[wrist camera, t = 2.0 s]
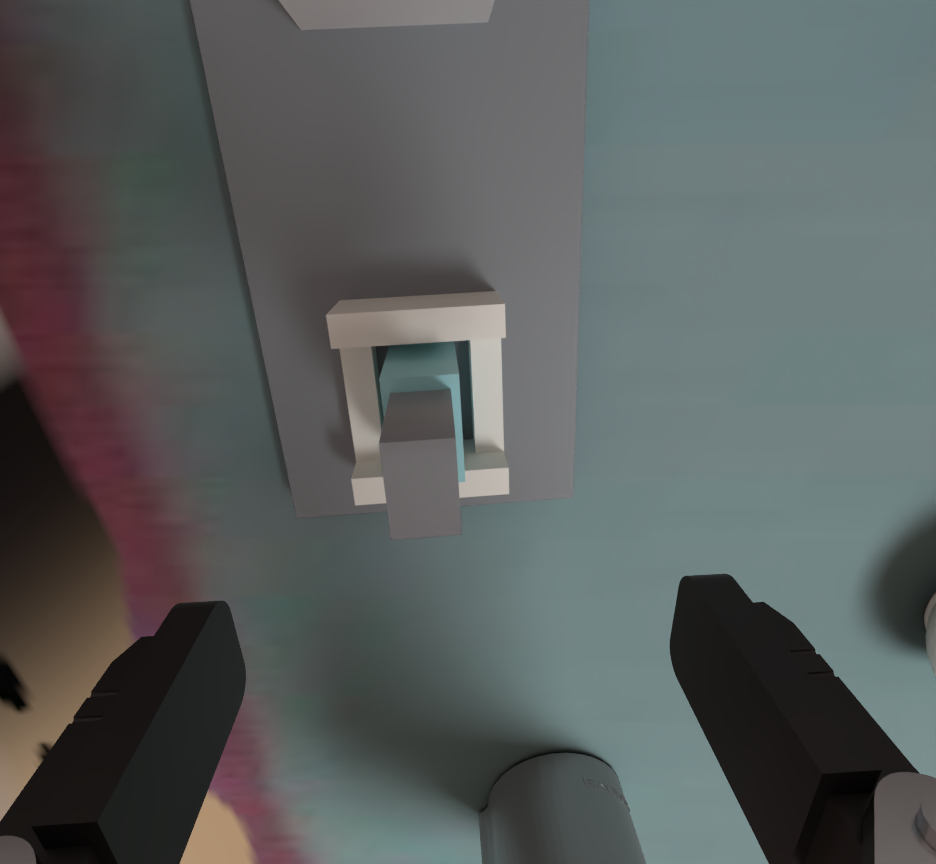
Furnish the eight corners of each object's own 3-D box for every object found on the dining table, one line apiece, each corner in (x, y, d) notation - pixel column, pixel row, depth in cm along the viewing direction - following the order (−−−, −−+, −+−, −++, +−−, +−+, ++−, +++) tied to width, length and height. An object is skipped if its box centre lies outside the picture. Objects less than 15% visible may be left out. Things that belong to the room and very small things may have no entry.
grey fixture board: (563, 477, 27) (596, 547, 22) (305, 496, 27) (272, 572, 21) (582, -342, 16) (660, -624, 11) (144, -334, 16) (-12, -624, 10)
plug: (458, 427, 24) (473, 548, 15) (399, 431, 24) (382, 555, 15) (453, 338, 22) (466, 419, 14) (390, 342, 22) (364, 426, 14)
